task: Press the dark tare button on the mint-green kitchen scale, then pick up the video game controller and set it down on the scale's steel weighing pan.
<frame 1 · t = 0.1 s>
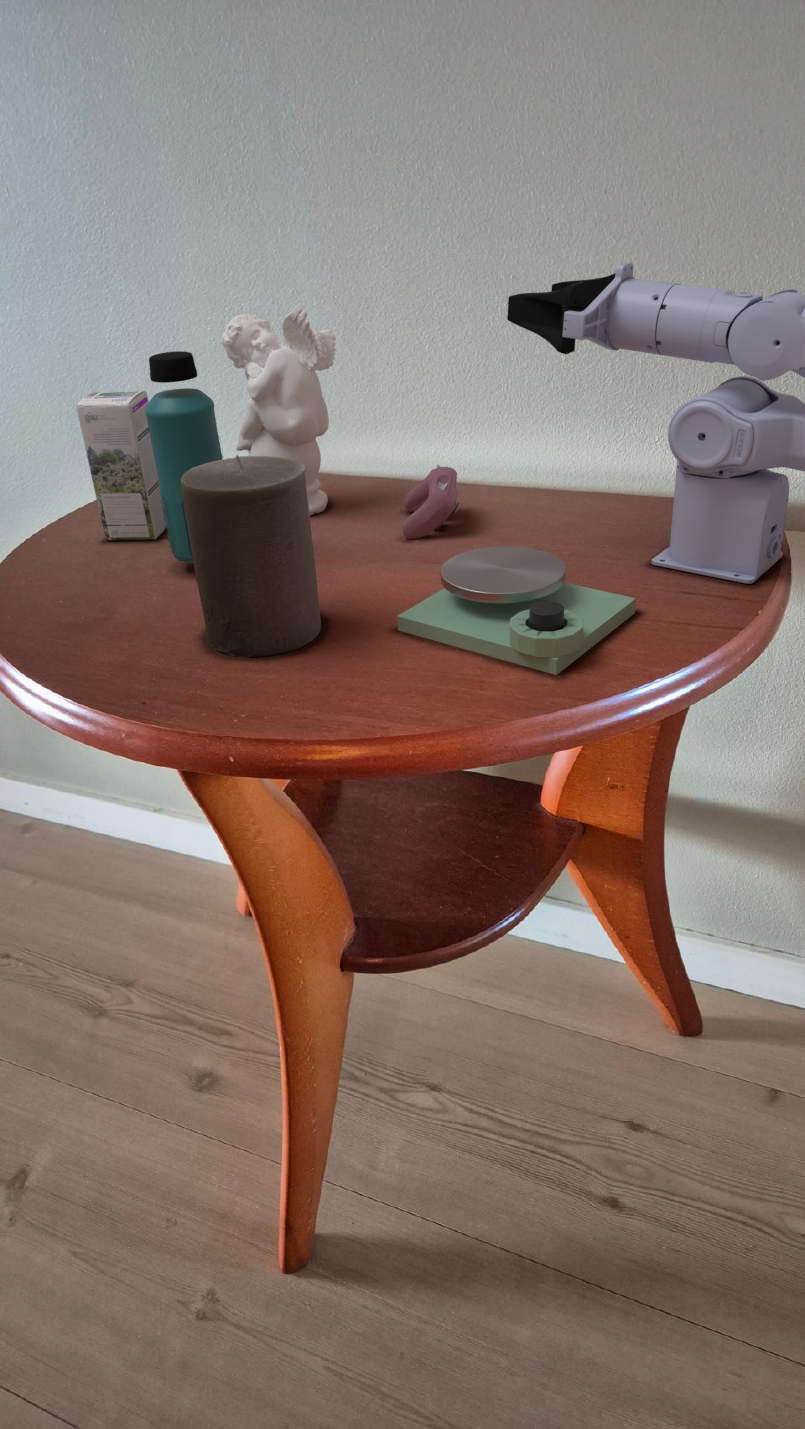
hand: (531, 301, 91), 22 cm above the table, tool horizontal, fingers open, 7 cm apart
cherub figurine: (306, 506, 112), on the table
scale: (516, 622, 82), on the table
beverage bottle: (206, 567, 97), on the table
tare button: (546, 617, 75), point 3 cm above the table, slide at 0.1 cm
syrup box: (139, 534, 107), on the table
pillar candle: (265, 634, 83), on the table
scale pan: (502, 611, 84), resting on scale
video game controller: (431, 526, 104), on the table
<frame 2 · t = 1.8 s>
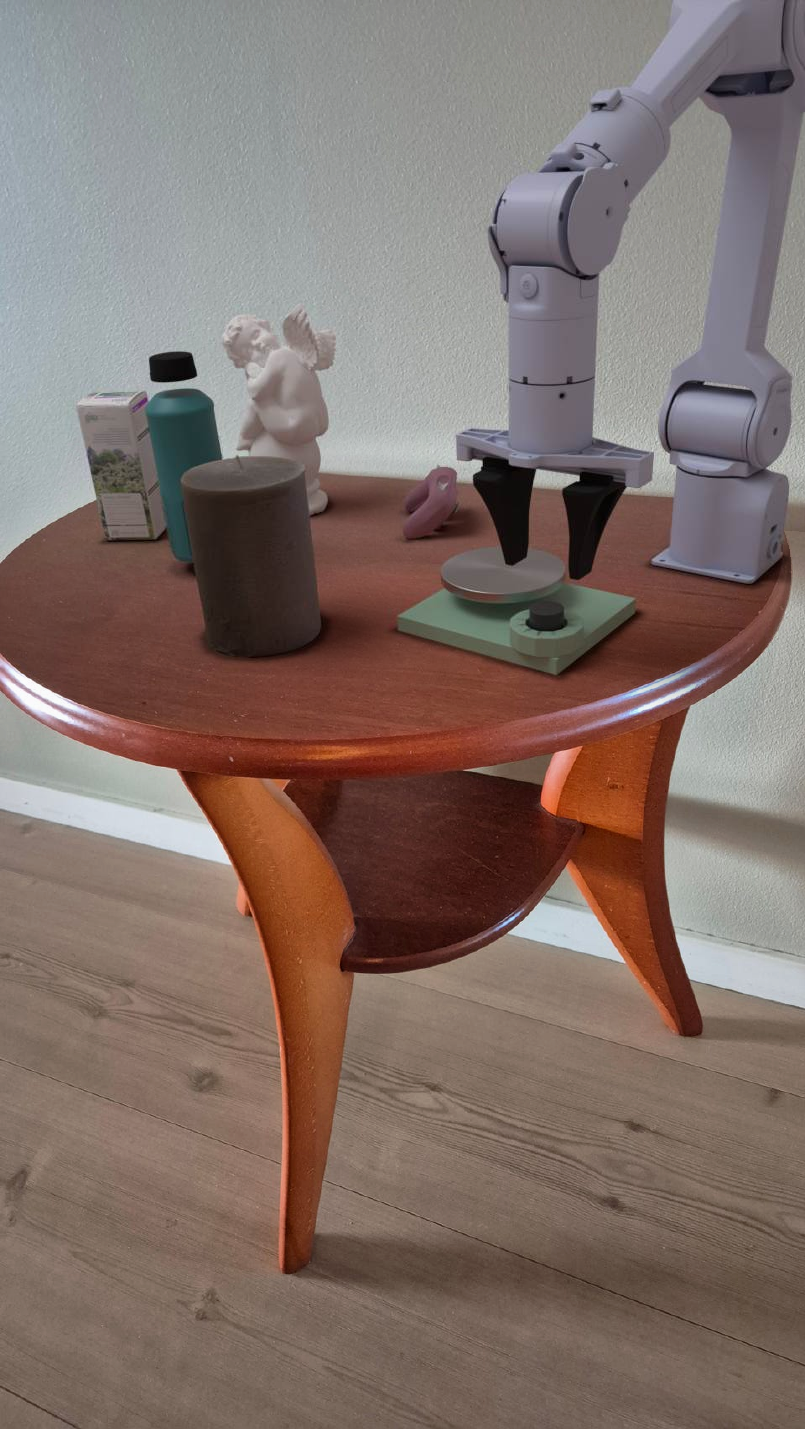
hand: (547, 567, 73), 7 cm above the table, tool pointing down, fingers open, 5 cm apart
nothing on the table moved.
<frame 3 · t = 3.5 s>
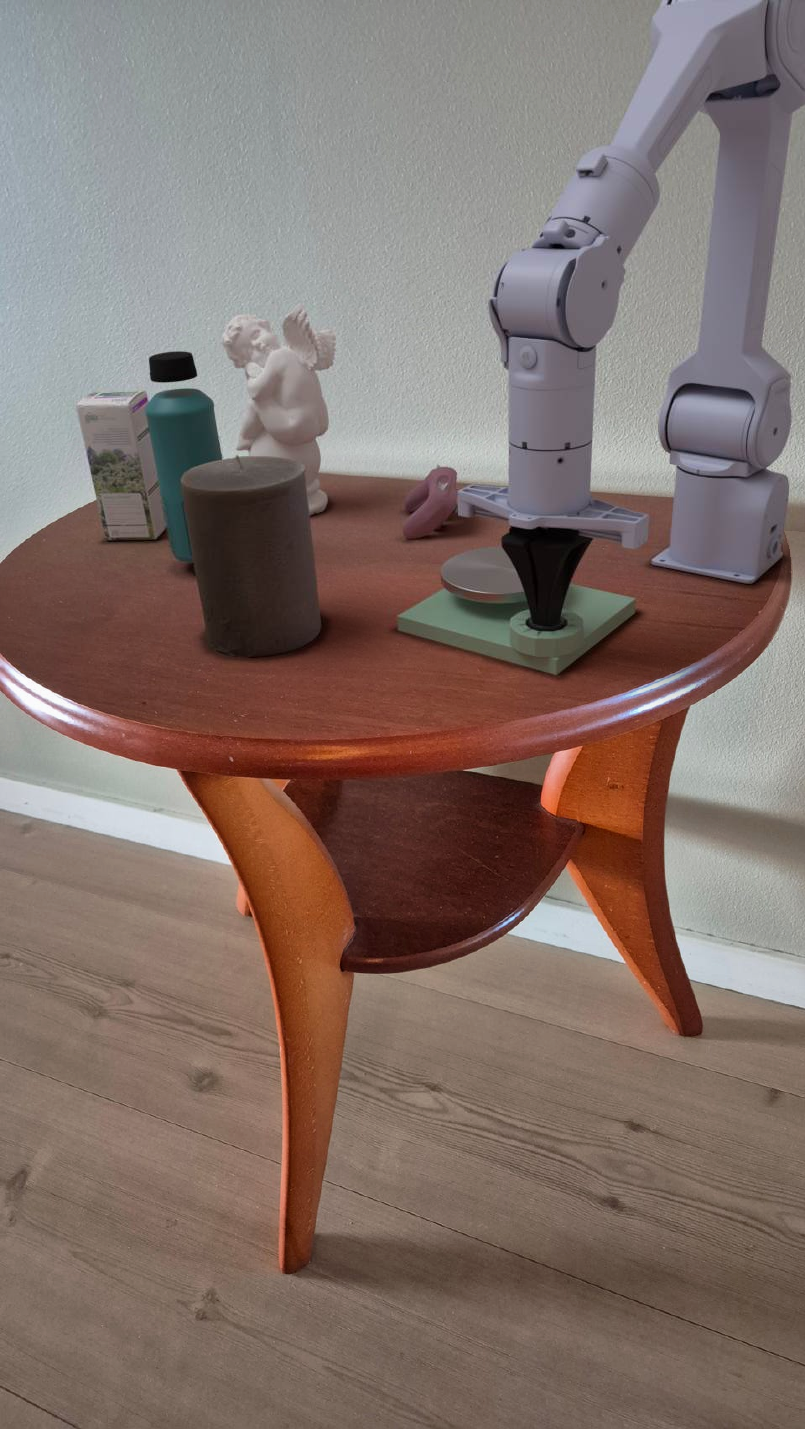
hand: (546, 620, 75), 3 cm above the table, tool pointing down, fingers closed, pressing on tare button
tare button: (546, 629, 75), point 2 cm above the table, slide at -0.8 cm, touching gripper
everything else where it was.
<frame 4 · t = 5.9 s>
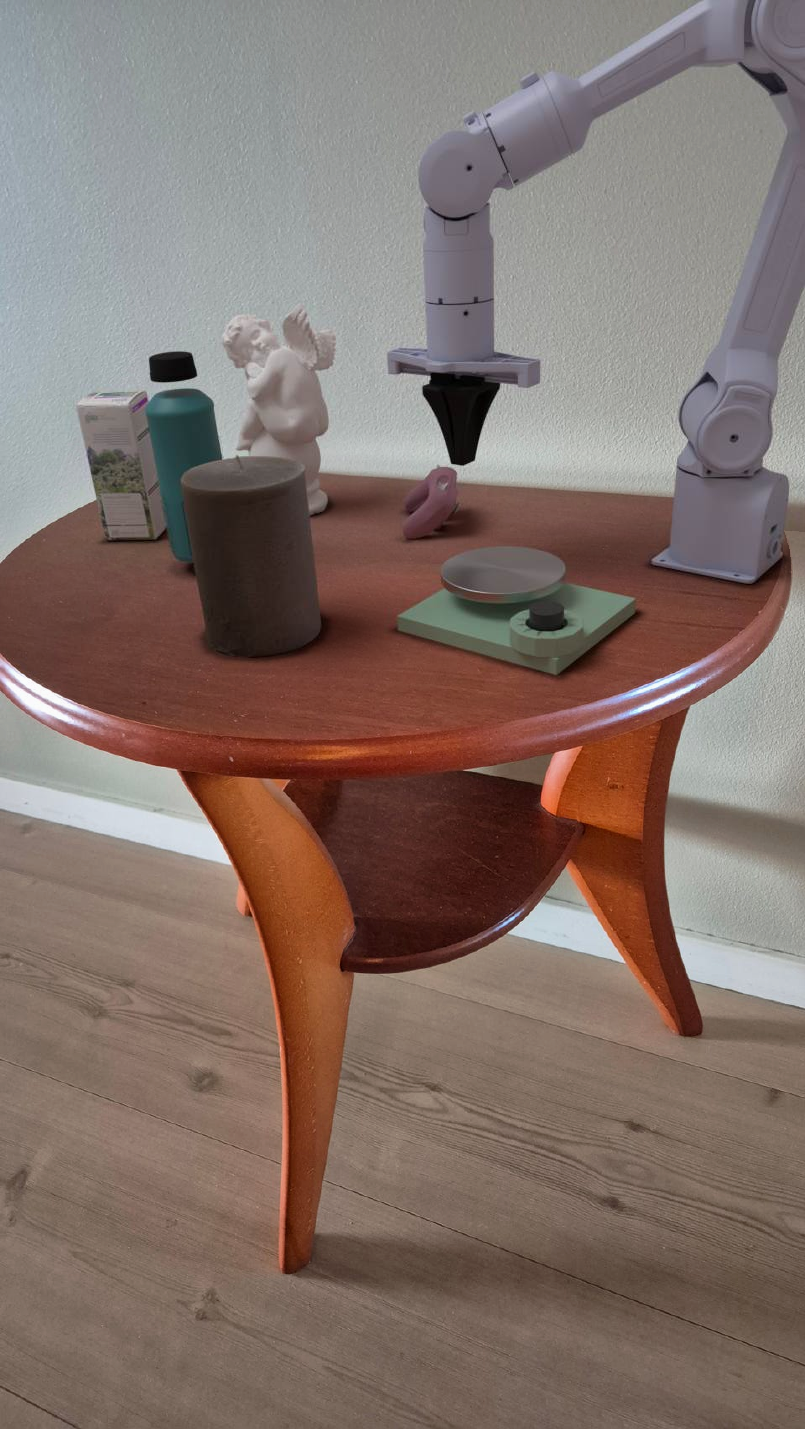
hand: (462, 462, 89), 10 cm above the table, tool pointing down, fingers closed
tare button: (546, 617, 75), point 3 cm above the table, slide at 0.1 cm
everything else where it was.
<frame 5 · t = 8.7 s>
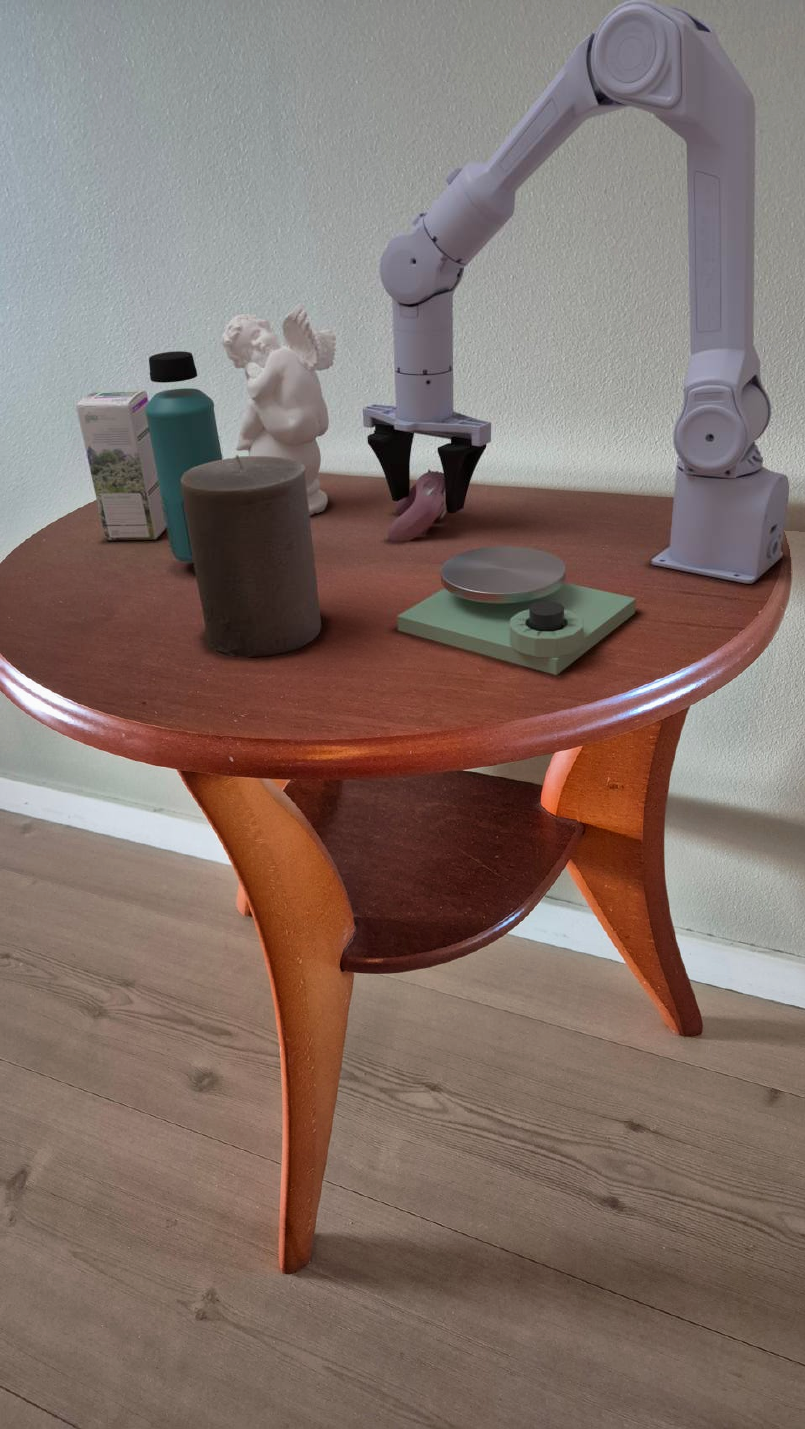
hand: (426, 504, 103), 2 cm above the table, tool pointing down
video game controller: (420, 530, 104), on the table, touching gripper
everything else where it was.
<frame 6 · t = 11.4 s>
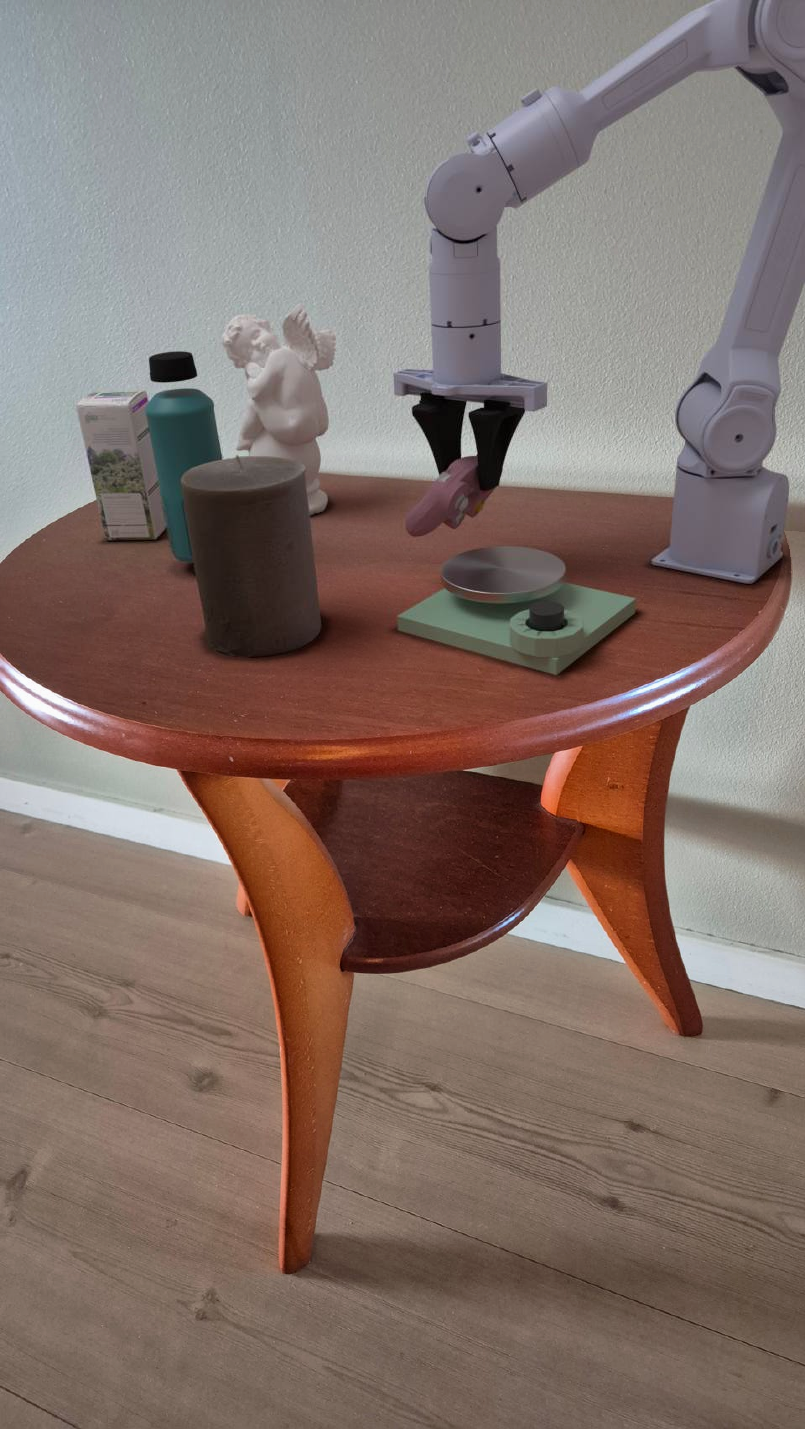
hand: (469, 484, 88), 8 cm above the table, tool pointing down, fingers closed on video game controller, 4 cm apart
video game controller: (459, 524, 89), point 5 cm above the table, touching gripper
everything else where it was.
when the fingers open (7 cm above the table, at t = 13.7 s): video game controller stays where it is, resting on scale pan.
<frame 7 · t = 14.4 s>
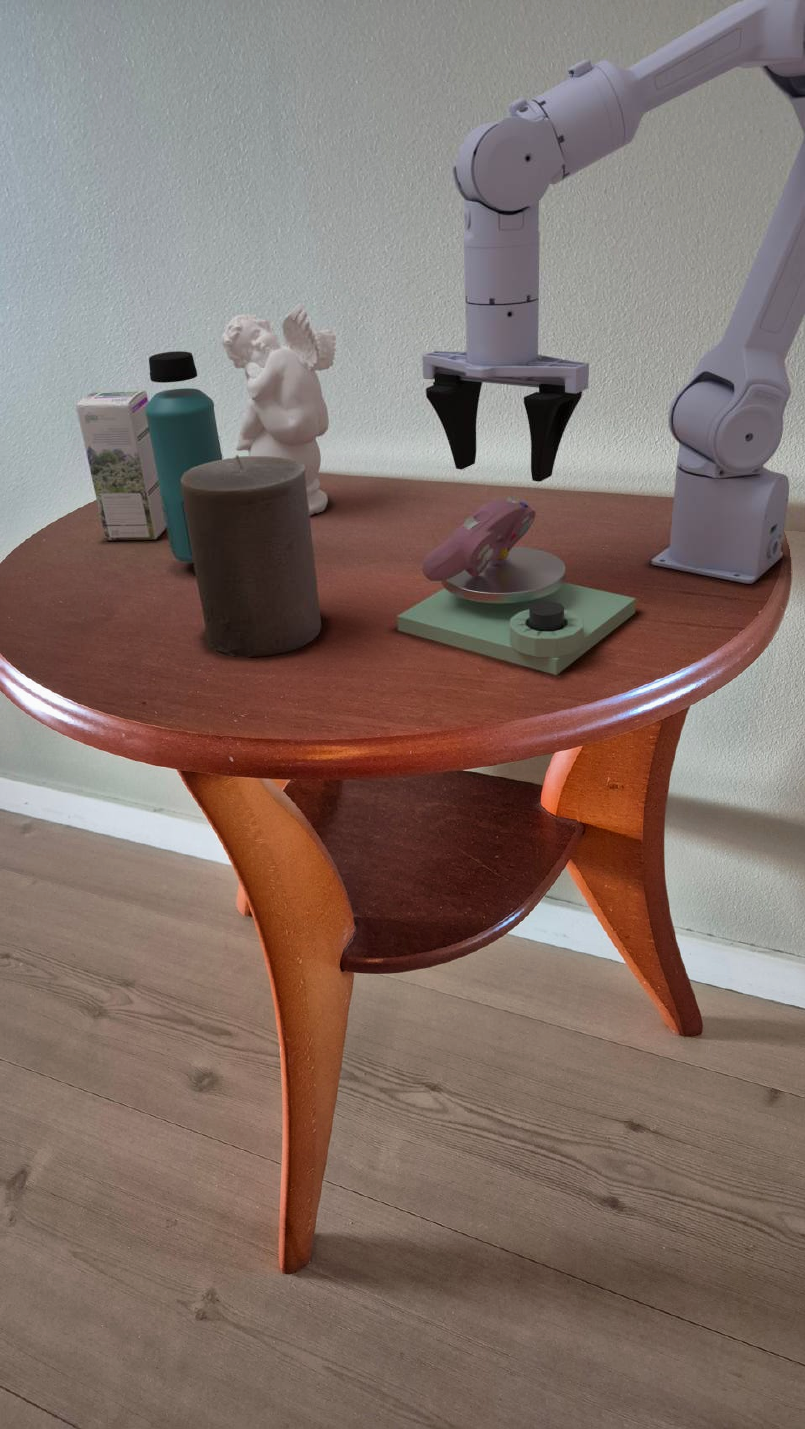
hand: (502, 472, 84), 10 cm above the table, tool pointing down, fingers open, 7 cm apart
video game controller: (481, 570, 83), point 4 cm above the table, touching scale pan
everything else where it was.
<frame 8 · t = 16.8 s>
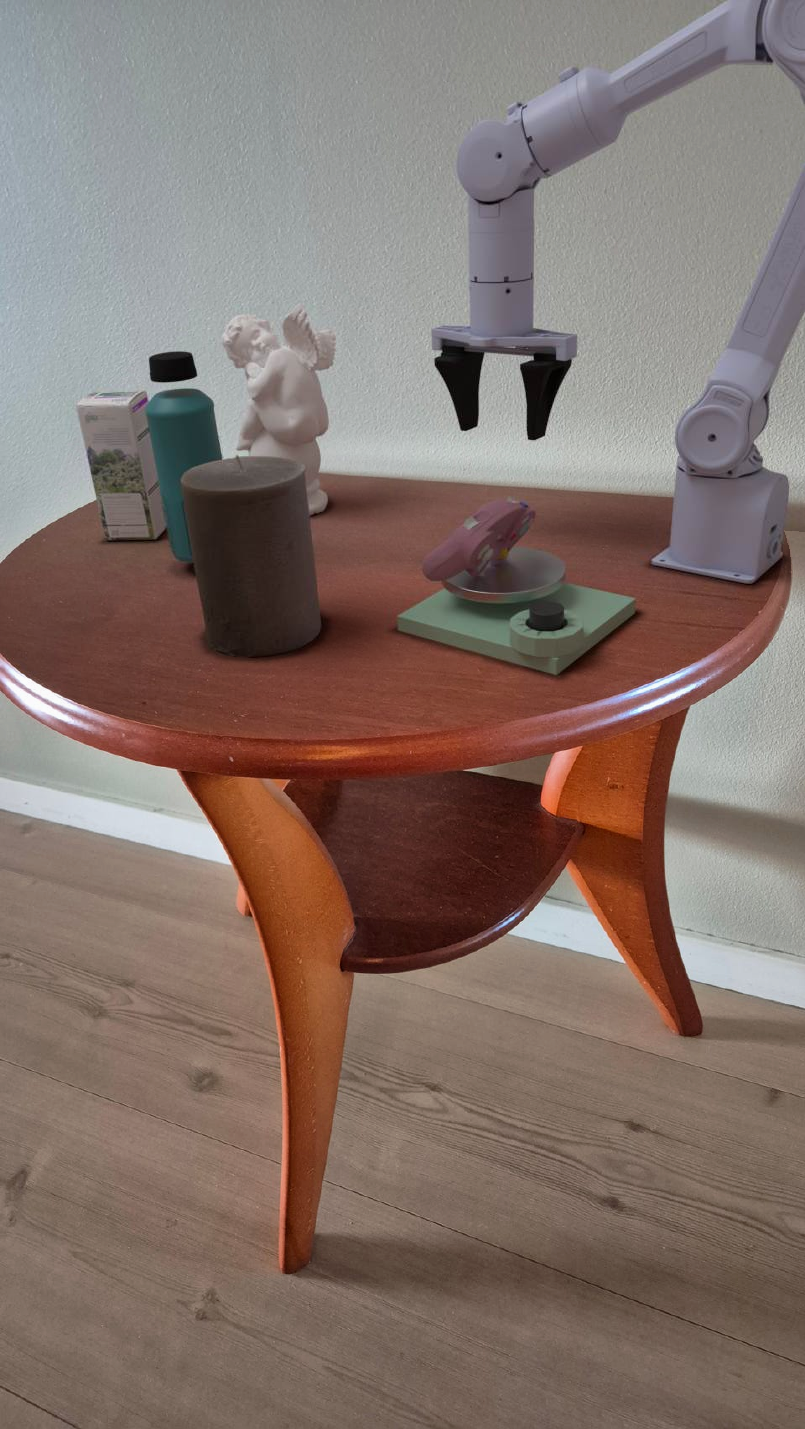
hand: (502, 433, 95), 10 cm above the table, tool pointing down, fingers open, 7 cm apart
nothing on the table moved.
at the end: tare button pushed in 1.0 cm at the most during the clip, back to where it started at the end; tare button slide at 0.1 cm; video game controller 1.7 cm off-centre on the scale pan, point 3.7 cm above the scale pan's base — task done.
